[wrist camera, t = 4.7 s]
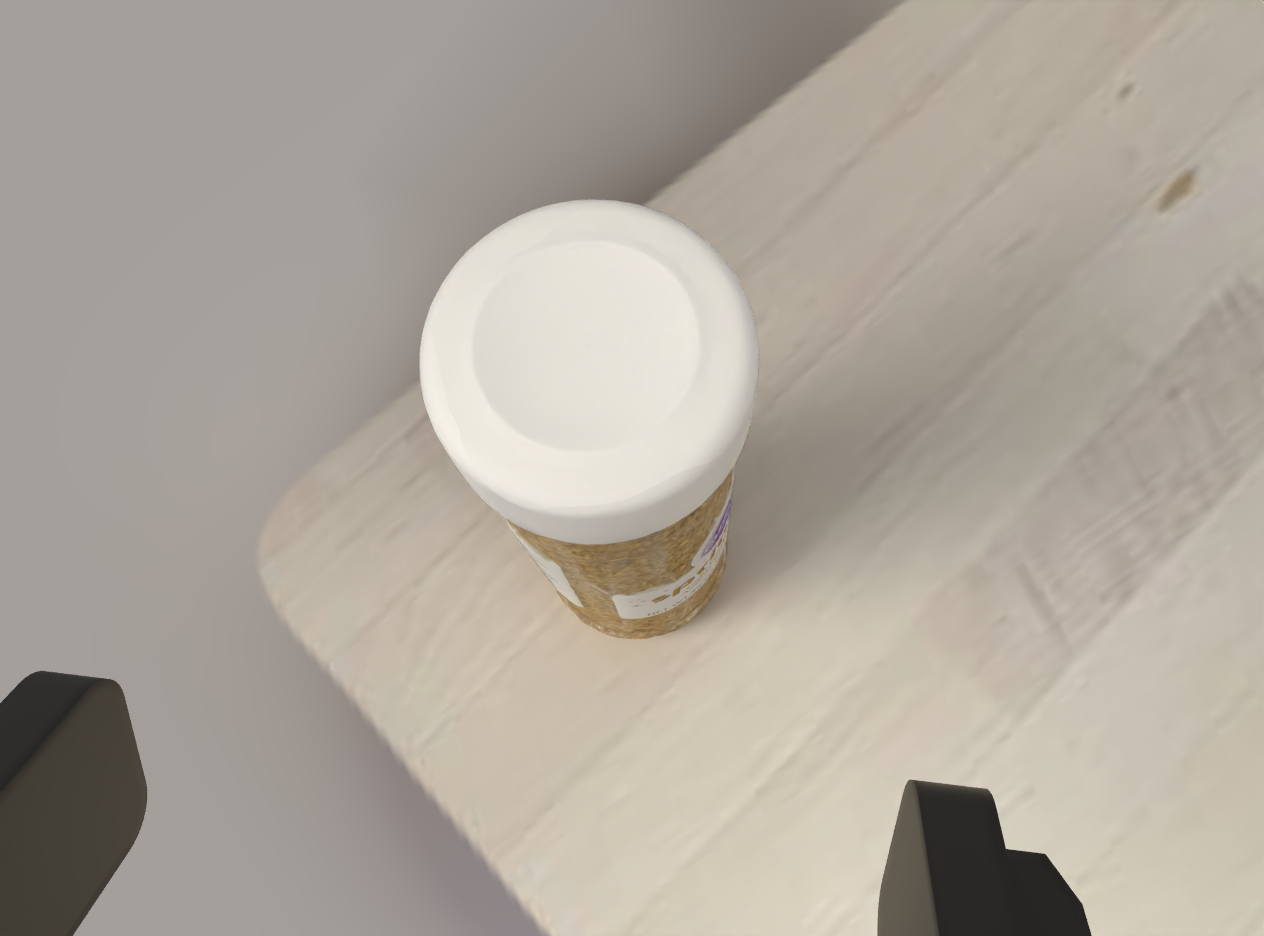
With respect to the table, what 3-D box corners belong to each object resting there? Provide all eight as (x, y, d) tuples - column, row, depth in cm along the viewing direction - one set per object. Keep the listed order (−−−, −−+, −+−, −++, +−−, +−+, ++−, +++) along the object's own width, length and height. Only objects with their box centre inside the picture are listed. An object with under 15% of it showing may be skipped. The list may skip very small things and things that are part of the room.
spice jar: (722, 647, 26) (754, 527, 13) (537, 633, 26) (387, 503, 13) (732, 467, 27) (770, 192, 14) (555, 456, 27) (433, 178, 14)
